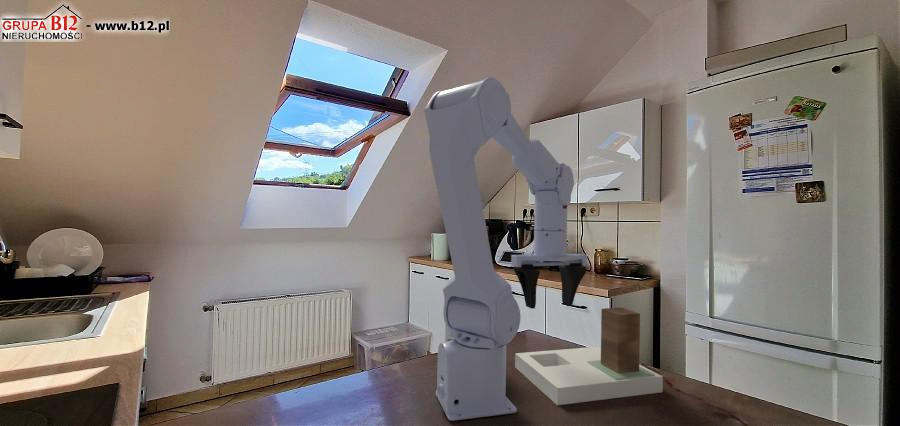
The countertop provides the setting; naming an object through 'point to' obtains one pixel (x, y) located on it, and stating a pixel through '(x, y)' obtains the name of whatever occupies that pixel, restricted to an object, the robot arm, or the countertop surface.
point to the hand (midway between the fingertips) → (549, 306)
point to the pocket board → (579, 376)
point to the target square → (619, 376)
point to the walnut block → (620, 339)
